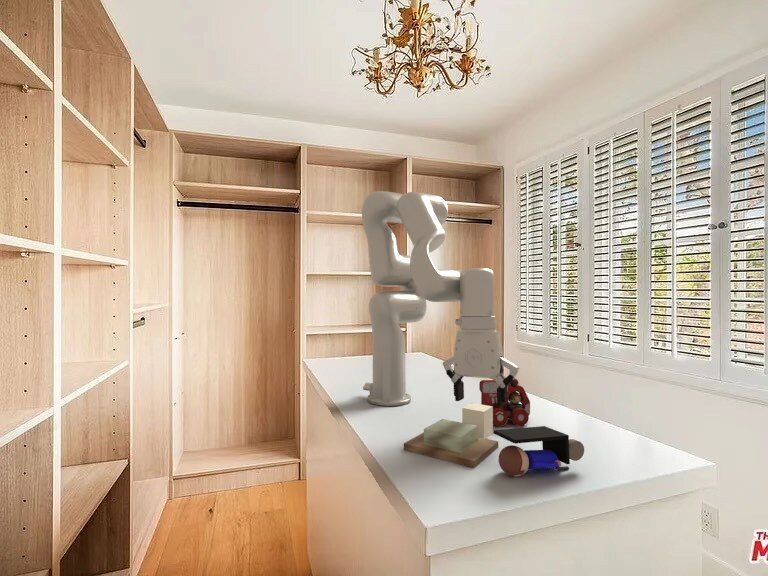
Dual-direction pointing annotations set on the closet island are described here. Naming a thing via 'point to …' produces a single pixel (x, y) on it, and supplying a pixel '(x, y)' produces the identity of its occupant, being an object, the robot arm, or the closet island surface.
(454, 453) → the base
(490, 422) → the cream block
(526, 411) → the toy fire truck
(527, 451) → the figurine character
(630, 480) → the closet island surface
